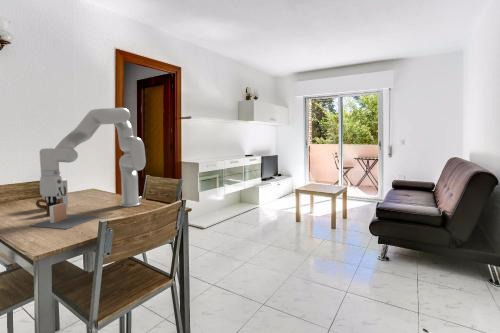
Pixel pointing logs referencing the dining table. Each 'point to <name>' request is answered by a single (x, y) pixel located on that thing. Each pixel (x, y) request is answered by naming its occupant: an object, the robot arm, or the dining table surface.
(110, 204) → the dining table surface
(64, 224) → the mat
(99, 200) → the dining table surface
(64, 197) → the supplement box
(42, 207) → the mug
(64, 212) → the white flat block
